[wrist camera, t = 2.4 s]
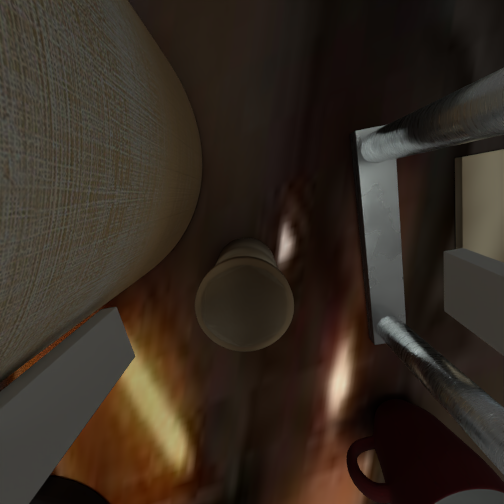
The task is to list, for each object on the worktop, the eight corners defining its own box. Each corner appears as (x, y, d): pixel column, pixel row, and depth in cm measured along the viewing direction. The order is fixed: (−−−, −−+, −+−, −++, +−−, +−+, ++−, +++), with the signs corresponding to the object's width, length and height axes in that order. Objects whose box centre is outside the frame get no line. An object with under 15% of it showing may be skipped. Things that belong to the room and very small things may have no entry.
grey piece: (369, 337, 26) (624, 650, 8) (349, 134, 22) (781, -114, 4) (399, 332, 26) (723, 638, 8) (386, 127, 22) (987, -159, 4)
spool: (221, 300, 25) (206, 358, 16) (208, 240, 24) (184, 269, 15) (282, 289, 25) (300, 342, 16) (272, 228, 24) (285, 250, 15)
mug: (340, 457, 29) (385, 590, 19) (325, 397, 27) (366, 510, 18) (435, 435, 29) (531, 561, 19) (426, 373, 27) (526, 476, 17)
